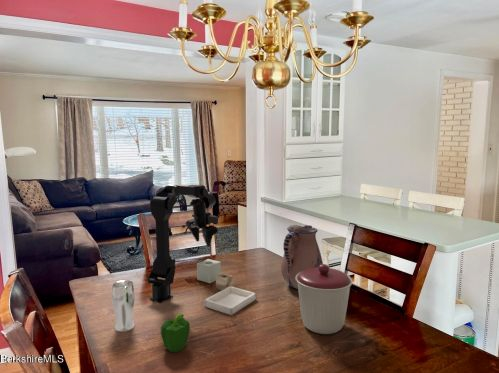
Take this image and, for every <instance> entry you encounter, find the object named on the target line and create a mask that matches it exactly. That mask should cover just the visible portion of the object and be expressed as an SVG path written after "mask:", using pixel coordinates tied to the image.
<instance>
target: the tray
mask: <svg viewBox="0 0 499 373" xmlns="http://www.w3.org/2000/svg"><path fill="white" fill-rule="evenodd" d="M256 300H257V293H256V292H253V291H249V290H246V289H243V288H239V287H235V286H233V287H232V286H229V287H228V288H226V289H224V290H220V291H219V292H216V293H215V294H213V295H211V296H209V297H207V298H206V299H204V307H205V308H208V309H212V310H215V311H217V312H221V313H224V314H227V315H230V316H233V315H234V314H236V313H237V312H239V311H240V310H242V309H244V308H245V307H246V306H248V305H250V304H251V303H252V302H254V301H256Z"/></svg>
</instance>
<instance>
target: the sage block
mask: <svg viewBox="0 0 499 373" xmlns="http://www.w3.org/2000/svg"><path fill="white" fill-rule="evenodd" d="M221 274H222V262H221V261H218V260H213V259H210V258H206V259H205V260H202V261H200V262H198V263H196V277H197V278H196V280H197V281H201V282H204V283H208V284H211V283H213V282H216V277H217V276H219V275H221Z"/></svg>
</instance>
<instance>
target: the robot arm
mask: <svg viewBox="0 0 499 373" xmlns="http://www.w3.org/2000/svg"><path fill="white" fill-rule="evenodd" d="M169 195H171V196H170V197H168V196H169ZM178 195H180V196H182V195H183V196H187V197H189V198H193V199H192V200H191V201H190V202H189V205H190V206H192V212H193V214H191V217H192V218H191V219H188V220H186V222H185V227H186V228H187V229H188V231H189V232H190V233H191V235H192V236H193V238H194V240H195V241H196V242H198V243H199V241H200V229H201V233H202V235H201V236H202V237H203V240H204V242H205V245H206V247H207V248H210V247H211V243H212V238H213V236H214V235H216V234H218V233H219V231H218V230H219V228H218V227H216V226H215V225H213V224H216V225H217V224H218V220H219V217H218V216H217V215H213V214H211V212H209V211H207V210H208V208H210V207H213V206H214V205H216V202H217V200H216V197H215V196H214V195H213V194H212V192H211V191H208V189H207V188H206V186H205V185H204V184H203V185H202V184H190V185H186V186H185V185H178V184H167V185H165V186H164V187H163V189H161V190H160V191H158V192H157V193H156V194H155V195H154V196H153V197H152V199H151V200H150V202H149V208H150V213H151V216H152V217H153V218H154V221H155V222H154V223H155V245H156V247H155V248H156V256H155V259H154V260H153V262H152V269H151V271H150V273H149V275H148V277H147V280H146V281H147V283H148V284H151V290H152V291H151V293H152V295H151V296H150V297H149V300H151V301H154V302H157V303H159V304H162V303H163V302H166V301H168V300H170V299H172V298H173V297H174V295H172V294H171V285H172V284H173V283H174V280H175V276H176V260H175V258H173V257H172V256H171V254H170V223H169V222H170V221H169V220H170V218H171V216H172V214H173V209H174V207H175V205H176V203H177V201H178V197H177V196H178Z"/></svg>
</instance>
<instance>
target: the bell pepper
mask: <svg viewBox="0 0 499 373" xmlns="http://www.w3.org/2000/svg"><path fill="white" fill-rule="evenodd" d="M184 316H185V314H184V313H180V314H177V315H176V316H175V317H174V319H172V318H168V319H166V320H165V321H164V322H163V323H162V324H161V325H160V326H161V327H160V335H161V339H162V343H163V345H164V348H165V349H166V350H169V352H171V353H178V352H182V350H183V349H184V348H185V347H186V345H188V344H187V343H188V340H189V336H190V331H191V330H190V329H191V327H190V326H191V324H190V322H189V321H188V320H187V319H185V318H184Z"/></svg>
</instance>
